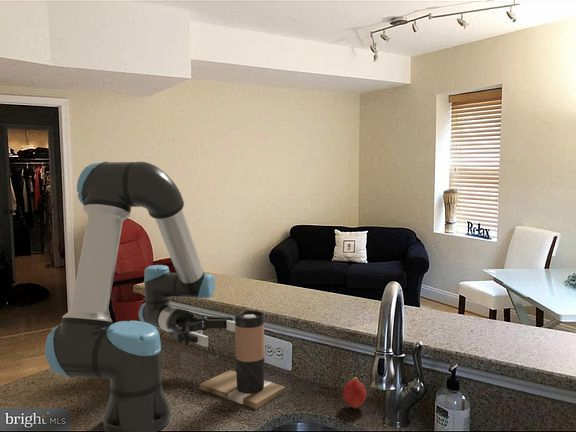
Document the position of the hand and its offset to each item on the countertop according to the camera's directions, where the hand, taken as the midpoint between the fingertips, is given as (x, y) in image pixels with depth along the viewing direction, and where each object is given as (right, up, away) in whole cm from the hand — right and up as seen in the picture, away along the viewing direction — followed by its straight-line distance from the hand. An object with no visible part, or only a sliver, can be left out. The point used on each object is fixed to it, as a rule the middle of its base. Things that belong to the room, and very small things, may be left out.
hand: (226, 335), depth 140 cm
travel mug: (+7, -13, -5) cm, 16 cm away
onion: (+34, -15, -13) cm, 39 cm away
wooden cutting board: (+5, -14, -3) cm, 15 cm away
